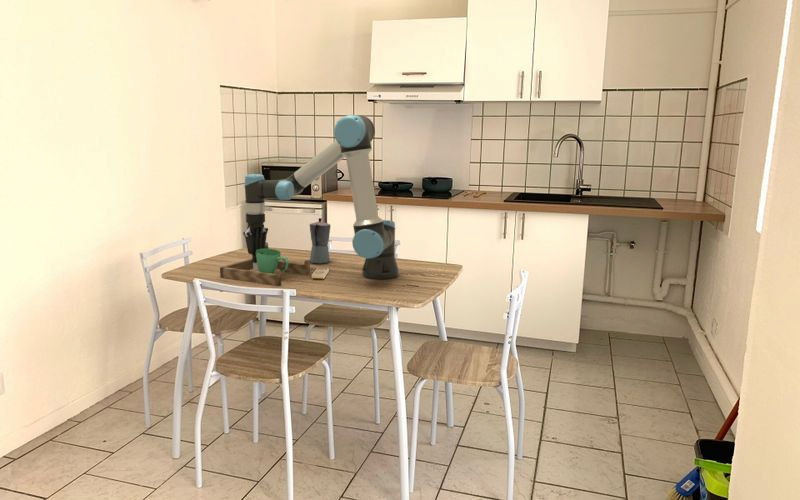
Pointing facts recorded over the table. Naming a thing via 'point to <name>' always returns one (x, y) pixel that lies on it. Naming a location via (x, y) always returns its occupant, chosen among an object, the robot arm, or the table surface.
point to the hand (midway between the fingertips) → (257, 269)
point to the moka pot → (319, 242)
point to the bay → (242, 272)
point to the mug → (269, 260)
